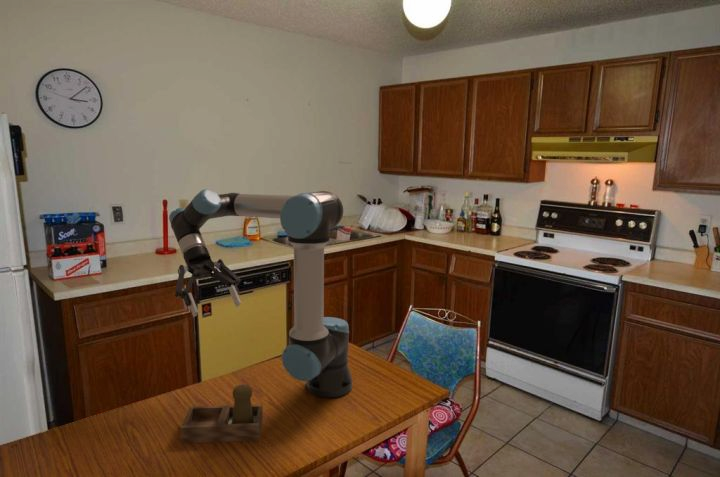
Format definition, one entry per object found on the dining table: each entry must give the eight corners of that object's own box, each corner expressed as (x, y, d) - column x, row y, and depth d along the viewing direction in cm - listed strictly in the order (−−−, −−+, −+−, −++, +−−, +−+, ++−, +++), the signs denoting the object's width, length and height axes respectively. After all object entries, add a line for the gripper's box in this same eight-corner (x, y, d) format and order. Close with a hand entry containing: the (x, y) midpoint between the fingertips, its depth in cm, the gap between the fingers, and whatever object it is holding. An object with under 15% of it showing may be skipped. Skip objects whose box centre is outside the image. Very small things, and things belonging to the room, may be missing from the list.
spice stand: (262, 418, 130) (262, 404, 130) (259, 440, 121) (258, 425, 120) (190, 421, 128) (190, 406, 127) (181, 443, 118) (180, 427, 118)
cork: (248, 431, 121) (247, 394, 119) (227, 428, 122) (226, 391, 120) (257, 419, 127) (257, 383, 125) (237, 416, 128) (237, 380, 126)
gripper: (227, 253, 154) (250, 306, 146) (151, 263, 137) (172, 324, 129) (234, 240, 149) (259, 295, 141) (156, 249, 132) (179, 312, 125)
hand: (218, 309), depth 135 cm, fingers open, 13 cm apart
